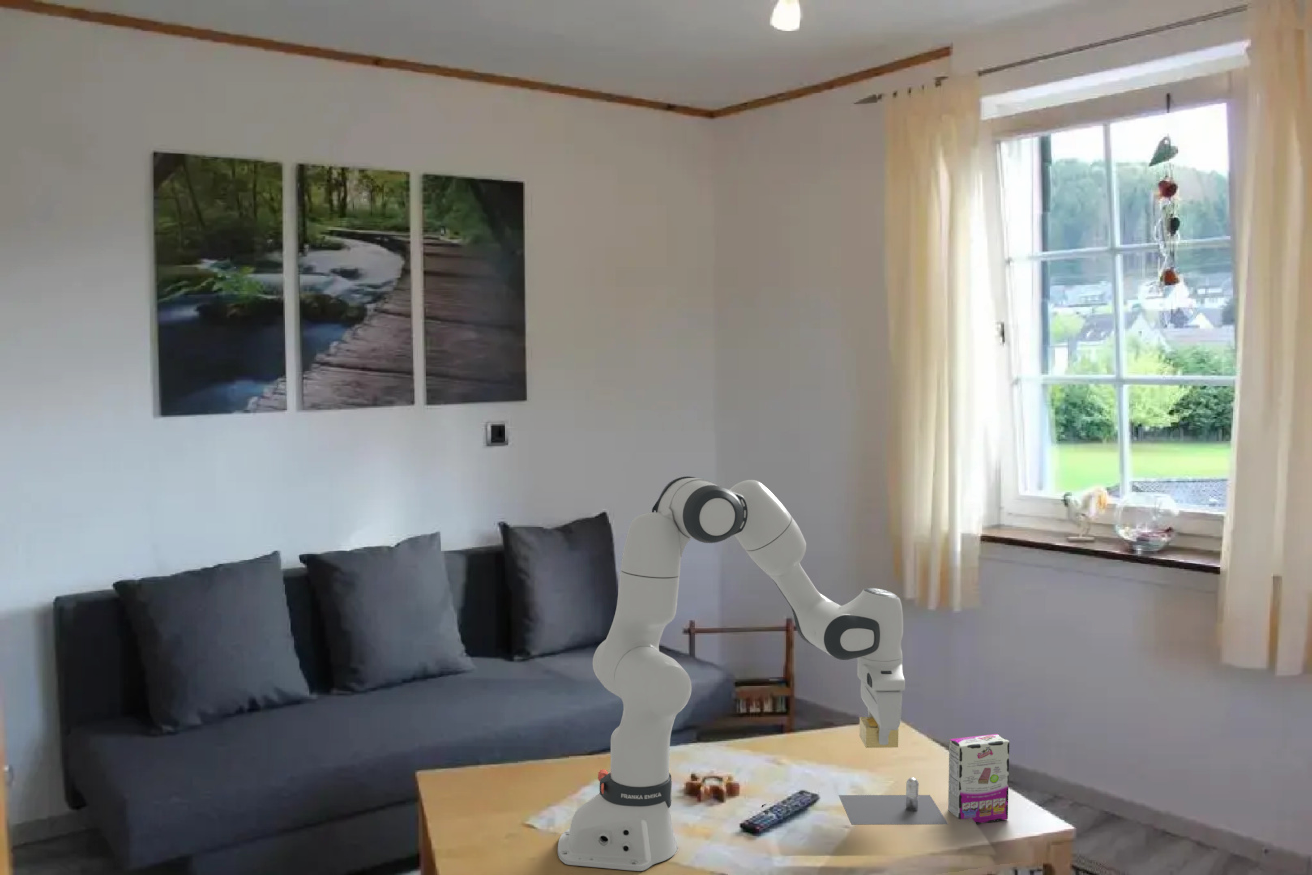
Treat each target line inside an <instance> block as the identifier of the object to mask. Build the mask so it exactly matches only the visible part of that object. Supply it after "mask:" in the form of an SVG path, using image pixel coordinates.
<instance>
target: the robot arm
mask: <svg viewBox="0 0 1312 875" xmlns="http://www.w3.org/2000/svg"><path fill="white" fill-rule="evenodd" d="M732 536H734V537H735V538H736V539H737V541H738V542H739V544H740V545H741V547H742V548H743V550H744V551H745V552H746V554H747V555H748V556H749V557H750V559H751V560H752V561H753V562H754V563H755V564H756V565H757V566H758V567H759V568H760V569H761V570H762V571H763V572H764V573H765V574H766V575H767V576H769V577H770V578H771V579H772V581H773V582H774V583H775V585H776V587H777V589H778V590H779V591H780V593H781V594H782V595H783V597H784V599H785V600H786V602H787V603H788V605H789V607H790V608H791V612H792V614H793V618H794V626H795V628H796V631H797V633H798V635H799V636H800V638H801V639H802V640H803V641H804V642H806V643H807V644H809V645H811V646H813V647H816V648H818V649H819V650H821V651H822V652H823V653H826V654H827V655H828V656H831V657H833V658H834V659H837V660H840V661H842V660H843V661H848V660H854V659H857V670H856V674H857V678H858V679H859V680H860V698H861V700H862V701H863V703H864V705H865V706H866V708H867V713H868V717H873V718H874V719H875V721H876V723H877V724H878V727H879V734H878V742H879V744H880V745H887V744H888V736H889V733H890V730H897V729H898V730H899V727H900V725H901V717H902V709H903V708H902V707H903V706H902V705H903V692H902V691H905V690H906V678H905V676H904V666H903V659H904V658H903V650H902V639H903V636H904V612H903V605H902V601H901V598H900V597H899V596H898V595H896V594H895V593H893V592H891V591H889V590H885V589H882V588H876V587H867V588H863V589H862V591H861V592H860V594H858V595H857V596H856V597H855V598H854V599H852V600H851V601H849V602H847V603H845V604H843V605H841V604H839V603H837V601H834V600H833V599H832V598H830V597H828V596H826V595H824V594H822V593H820V592H819V591H818V589H817V588H816V587H815V585H814V583H813V581H812V580H811V579H810V577H809V576H808V574H807V573H806V571H805V569H804V568H803V567H802V565H801V562H802V560H803V559H804V557H805V554H806V551H807V541H806V539H805V537H804V534H803V533H802V531H801V529H800V526H799V525H798V524H797V521H796V520H795V519H794V518H793V516H792V515H791V514H790V512H789V511H788V509H787V508H786V507H785V506H784V504H783V503H782V502H781V501H780V500H779V499H778V497H776V496H775V495H774V493H773V492H772V491H771V490H770V489H769V488H768V487H766V486H765V485H764V483H762V482H760V481H759V480H756V479H746V480H743V481H740V482H738V483H736V484H734V485H733V486H732V487H731V488H729V489H728V488H726V487H722V486H719V485H717V484H715V483H714V482H711V481H710V480H708V479H704V478H699V477H695V476H681V477H678V478H677V477H676V478H675V479H672V480H671V481H670V482H668V484H666V486H664V488H663V489H662V491H661V492H660V495H659V497H658V499H657V501H655V504H654V505H653V507H652V508H651V512H646V513H642V514H639V515H637V516H636V517H634V518H633V519H632V520H631V522H630V524H629V527H628V531H627V534H626V538H625V540H624V541H625V542H624V545H623V551H622V556H621V563H620V564H621V565H620V575H619V581H618V582H619V584H618V592H617V602H616V609H615V612H614V613H615V614H614V616H613V621H612V622H611V626H610V629H609V631H608V634H607V636H606V639H604V640H603V641H602V642H601V643H600V644H599V645H598V646H597V648H596V649H595V652H594V654H593V657H592V670H593V672H594V674H595V676H596V678H597V679H598V681H599V682H600V683H601V685H602V686H603V687H604V688H605V689H606V690H607V691H609V693H611V694H613V695H614V696H616V697H618V698H620V699H621V701H622V704H623V710H622V714H621V715H622V717H621V720H620V722H619V723H620V724H619V726H617V727H616V728H615V729H614V730H613V731H612V733H611V736H610V771H609V772H608V771H607V770H606V769H600V770H599V771H598V772H597V780H598V782H599V793H598V794H597V795H595V796H594V797H592V798H591V799H589V800H588V801H586V802H585V803H583V804H581V806H579V807H578V808H577V809H576V810H575V812H574V814H573V817H572V819H571V823H570V826H569V828H567V829H566V830H565V831H564V832H562V833H561V835H560V837H559V839H558V844H557V856H558V858H559V860H560V861H561V862H562V863H564V864H565V865H569V866H576V867H579V866H580V867H591V868H601V869H612V870H623V871H635V872H636V871H637V872H642V871H645V870H648V869H649V868H650V867H652V866H653V865H655V864H658V863H661V862H664V861H666V860H668V859H670V858H671V857H673V856H674V855H675V854H676V853H677V850H678V844H677V840H676V837H675V833H674V828H673V827H674V826H673V820H672V814H671V812H672V811H671V805H672V801H673V781H672V775H671V773H670V750H671V747H670V746H671V735H672V730H673V726H674V723H675V719H676V717H677V715H678V714H679V713H680V712H681V711H683V709H684V708H685V707H686V705H688V702H689V701H690V698H691V695H692V689H693V688H692V681H691V677H690V675H689V673H688V672H687V671H686V670H685V669H684V667H682V666H681V664H680V663H679V662H677V661H676V659H674V658H673V657H671V656H669V655H667V654H666V653H664V652H662V651H660V641H661V639H662V636H663V632H664V630H665V628H666V626H667V625H668V624H670V623H671V622H673V620H674V619H675V617H676V615H677V609H678V608H677V607H678V597H679V589H680V588H679V586H680V575H681V564H682V563H681V562H682V561H681V559H682V556H683V552H684V550H685V548H686V547H687V545H688V543H689V541H691V539H693V540H696V541H698V542H699V543H702V544H703V543H704V544H715V543H719V542H723V541H725V540H727V539H728V538H730V537H732Z"/></svg>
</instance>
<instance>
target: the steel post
mask: <svg viewBox="0 0 1312 875" xmlns="http://www.w3.org/2000/svg"><path fill="white" fill-rule="evenodd" d="M905 784H906V786H905V788H906V790H905V795H906V810H908V811H911V812H915V811H917V810H918V795H919V789H920V788H919V780H918V779H917V778H915V777H909V778H907V779H906V782H905Z"/></svg>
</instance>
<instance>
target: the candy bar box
mask: <svg viewBox="0 0 1312 875" xmlns="http://www.w3.org/2000/svg"><path fill="white" fill-rule="evenodd" d="M948 740H949V742H948V743H949V744H948V798H947V801H948V803H947V805H948V808H947V810H948V812H950V813H951V814H952V815H954V817H956V818H957V819H959V820H967V819H972V820H973V821H974V823H975V825H978V824H979V825H980V824H986V823H991V822H992V823H993V822H1000V821H1007V820H1009V785H1010V784H1009V782H1010V780H1009V775H1010V740H1008V739H1007V738H1005V737H1003V736H1001V735H1000V734H997V733H993V734H985V735H975V736H966V737H965V736H964V737H956V738H949V739H948Z"/></svg>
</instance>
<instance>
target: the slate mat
mask: <svg viewBox="0 0 1312 875" xmlns="http://www.w3.org/2000/svg"><path fill="white" fill-rule="evenodd" d="M838 796H839V800H840V801H841V803H842V805H843V808H844V810H845V812H846V814H847V817H848V819H849V822H850V823H851V825H949V823H948V821H947V820H946V818H945V817H944V815H943V814H942V812H941V810H940V809H939V807H938V805H937V804H936V802H935V801H934V799H933V798H932V796H931V795H930V794H918V810H917V811H915V812H911V811H908V810H906V794H839V795H838Z"/></svg>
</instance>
